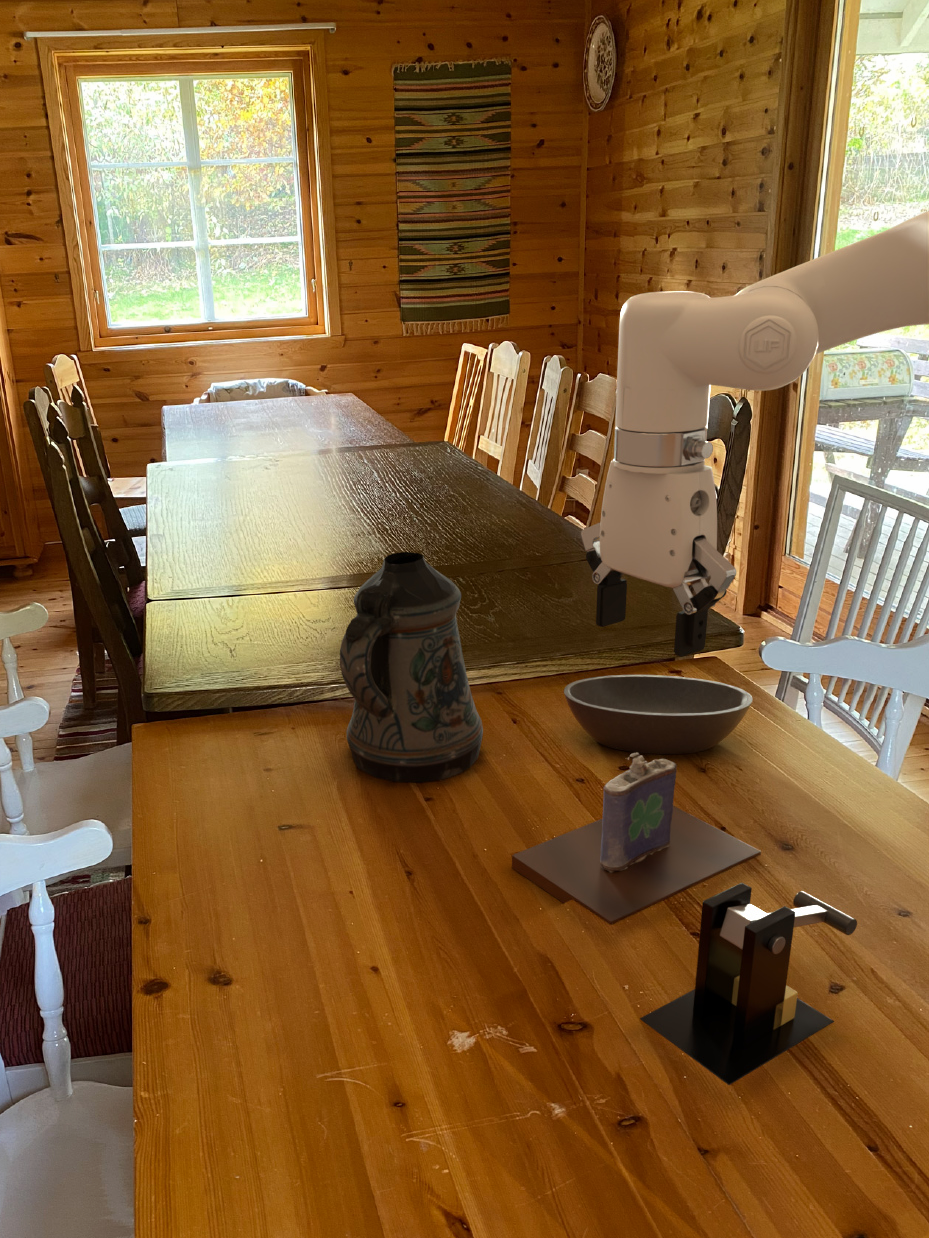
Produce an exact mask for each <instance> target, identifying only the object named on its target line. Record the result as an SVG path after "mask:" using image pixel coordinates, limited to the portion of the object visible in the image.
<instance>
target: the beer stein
mask: <svg viewBox="0 0 929 1238" xmlns="http://www.w3.org/2000/svg"><path fill="white" fill-rule="evenodd" d="M425 559H426V558H425V557H424V555H423V554H422V553H419V552H411V551H400V552H393V553H391V554H388V555H386V557H384V559H383V562H382V565H381V567H380V569H378V570H377V571H376V572H375V573H374V574H373V575H371V576H370V577H369V578H368V579H367V580H366V581H365V582H364V583H363V584H362V585H361V586H360V587H359V588H358V590H357V591H356V593H355V595H354V597H353V605H354V607H355V612H356V615H355V617H353V618H352V619H351V621H350V622H349V623H348V625H347V627H346V629H345V633H344V635H343V638H342V640H341V643H340V648H339V667H340V672H341V676H342V679H343V682H344V684H345V687H346V688H347V690H348V692H349V693H350V695H351V696H352V698H353V699H354V702H353V703H354V704H353V710H352V714H351V718H350V720H349V722H348V725H347V728H346V740H347V744H348V747H349V749H350V752H351V758H352V760H353V762H354V763H355V766H356V767H357V769H358V770H360V771H362V772H364V773H367V774H368V775H371V776H372V777H374V778H376V779H381V780H385V781H390V782H394V783H415V784H416V783H418V784H421V783H428V782H435V781H440V780H446V779H449V778H451V777H454V776H458V775H460V774H462V773H464V772H465V771H467V770H468V769H470V768H471V767H472V766H473V765H474V763H476V761H477V760H478V759H479V755H480V750H481V746H482V741H483V736H484V735H483V734H484V727H483V721H482V718H481V716H480V714H479V712H478V710H477V708H476V704H475V702H474V699H473V698H474V697H473V694H472V691H471V687H470V683H469V678H468V675H467V668H466V664H465V660H464V654H463V648H462V643H461V637H460V632H459V627H458V620H457V613H458V611H459V608H460V603H461V599H462V592H461V591H460V588H459V587H458V586H457V585H456V584H455V583H454V581H452V580H451V579H450V578H449V577H448V576H447V577H446V575H444V574H442V573H441V572H439V571H438V570H436V569H435V568H434V567H433V566H431V565H430V564H429V563H427V561H426V560H425Z"/></svg>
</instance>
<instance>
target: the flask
mask: <svg viewBox="0 0 929 1238" xmlns="http://www.w3.org/2000/svg"><path fill="white" fill-rule="evenodd" d="M630 757H631V758H632V763H631V764H630V766H629V769H628V770H626V771H623V772H622V773H620V774H618V775H617V776H614V778H612V779H610V780H609V781H608V782H606V783H605V785H604V786H603V800H602V802H603V803H602V819H603V820H602V840H601V856H600V864H602V865H601V867H602V866H603V867H604V868H603V867H602V869H605V870H608V871H609V872H610V873H612V872H614V871H621V870H624V869H626V868H628V867H627V866H629V865H631V864H634V863H637V862H639V861H642V860H643V859H644V857H646V855H648V854H651V855H652V854H653V853H654V852H655V851H661V849H663V848H665V847H669V845H670V830H671V820H672V813H673V806H674V797H675V787H676V779H677V772H678V771H677V767H678V766H677V764H676V763H675V762H674V761H671V760H668V759H666V758H659V759H658V758H656V759H653V760H652V761H650V762H648V761H647V760H645V757H644V755H640V753H638V752H633V753H631V754H629V757H627V758H626V760H628V761H629V760H630Z"/></svg>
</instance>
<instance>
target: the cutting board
mask: <svg viewBox="0 0 929 1238" xmlns="http://www.w3.org/2000/svg"><path fill="white" fill-rule="evenodd" d="M602 820H603V818H600V819H598V820H594V821H593V822H590V823H587V824H585V825H583V826H581V827H578V828H576V829H573V830H571V831H568V832H566V833H563V834H561V835H558V836H556V837H553V838H551V839H548V840H546V841H544V842H541V843H539V844H536V845H534V846H531V847H528V848H527V849H524V850H522V851H519V852H517V853H514V854H512V855H511V868H512V869H513V870H514V871H515V872H517V873H519V874H520V875H521V876H523V877H524V878H526V879H527V880H529V881H530V882H532V883H533V884H534V885H536V886H538V887H539V888H540V889H542V890H543V891H545V892H546V893H548V894H549V895H551V896H552V897H554V899H556V900H558V901H560V902H561V903H562V904H567V903H568V902H571V901H575V902H576V903H578V904H579V905H581V906H582V907H583V908H585V909H586V910H588V911H589V912H591V913H592V914H594V915H595V916H597V917H598V918H600V919H601V920H603V921H604V922H605V923H607V924H609V925H611V926H612V925H614V924H616V923H618V922H621V921H622V920H625V919H627V918H629V917H631V916H633V915H635V914H638V913H639V912H642V911H644V910H646V909H648V908H650V907H653V906H654V905H656V904H658V903H661V902H663V901H665V900H667V899H669V898H672V897H673V896H675V895H678V894H680V893H682V892H683V891H686V890H688V889H690V888H693V887H695V886H697V885H700V884H701V883H703V882H705V881H707V880H711V878H714V877H716V876H718V875H720V874H722V873H724V872H727V871H729V870H731V869H733V868H734V867H737V866H739V865H741V864H744V863H746V862H748V861H750V860H752V859H754V858H756V857H759V856H760V855H761V854H762V851H761V850H759V849H758V848H756V847H754V846H752V845H750V844H749V843H746V842H744V841H742V840H740V839H738V838H736V837H735V836H732V835H730V834H728V833H727V832H724V831H723V830H721V829H720V828H717V827H715V826H713V825H712V824H710V823H707V822H705V821H704V820H702V819H699V818H698V817H696V816H694V815H692V814H690V813H689V812H686V811H684V810H682V809H681V808H679V807H677V806H675V805H673V813H672V820H671V830H670V845H669V847H665V848H663V849H661V851H655V852H654V853H653V854H652V855H651V854H648V855H646V857H644V859H643V860H642V861H639V862H637V863H634V864H631V865H629V866H627V867H628V868H626V869H624V870H621V871H614V872H612V873H610V872H609V871H608V870H605V869H602V867H603V866H602V867H601V865H602V864H600V856H601V840H602ZM603 868H604V867H603Z"/></svg>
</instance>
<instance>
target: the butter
mask: <svg viewBox="0 0 929 1238" xmlns="http://www.w3.org/2000/svg"><path fill="white" fill-rule="evenodd" d="M739 977H740V975H739V976H738V977H736V978H734V986H733V996H732V1004H734V1005H735V1006H736V1004H737V995H738V986H739ZM798 994H799V993H798V991H796V990H795V989H794V988H791V987H790V986H788V985H787V984H786V991H785V998H784V1001H783V1002H782V1003H780V1005H781V1004H782V1005H783V1004H784V1005H783V1006H782V1005H781V1009H782V1008H783V1009H782V1010H781V1011H780V1012H781V1014H782V1017H780V1018H782V1020H781V1021H780V1019H778V1017H779V1016H777V1019H776V1021H777V1023H776V1021H774V1023H775V1027H774V1029H776V1028H778V1027H776V1024H778V1023H780V1024H781V1025H783V1024H785V1023H786V1022H788V1021H790V1020H792V1019H793V1018H794V1017H795V1009H796V1002H797V998H798ZM780 1005H779V1004H778V1007H779V1008H780ZM779 1010H780V1009H779ZM782 1011H783V1012H782ZM780 1012H779V1011H778V1013H777V1009H776V1013H775V1014H780ZM775 1018H776V1016H775Z"/></svg>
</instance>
